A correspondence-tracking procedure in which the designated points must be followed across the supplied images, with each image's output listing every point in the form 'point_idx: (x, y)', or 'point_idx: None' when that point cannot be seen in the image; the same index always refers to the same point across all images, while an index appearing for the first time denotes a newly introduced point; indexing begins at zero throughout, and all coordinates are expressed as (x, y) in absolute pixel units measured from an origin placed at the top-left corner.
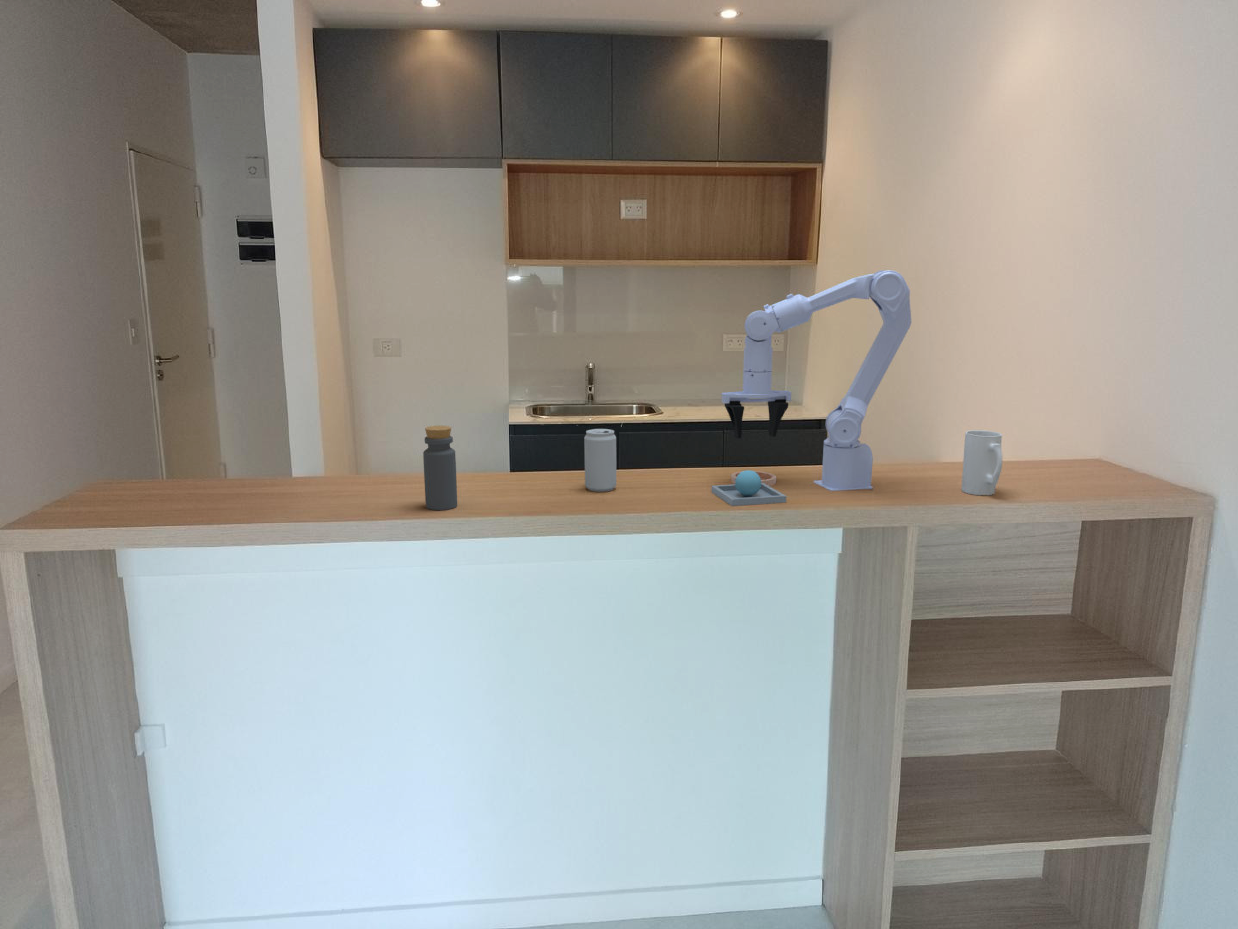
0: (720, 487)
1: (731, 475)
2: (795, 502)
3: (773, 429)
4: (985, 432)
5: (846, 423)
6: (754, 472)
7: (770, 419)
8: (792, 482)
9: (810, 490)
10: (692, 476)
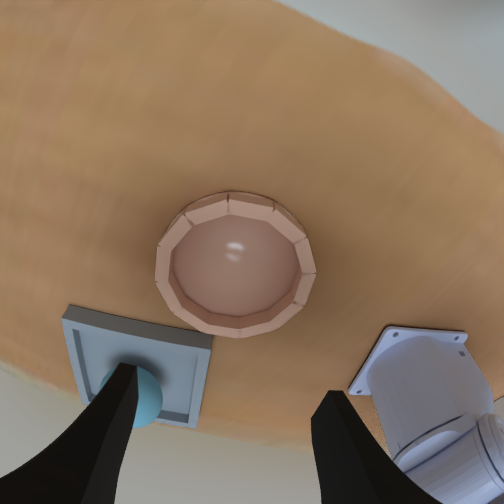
0: (82, 329)
1: (161, 242)
2: (224, 413)
3: (317, 449)
4: None
5: None
6: (137, 427)
7: (349, 465)
8: (353, 296)
9: (326, 367)
10: (86, 89)
